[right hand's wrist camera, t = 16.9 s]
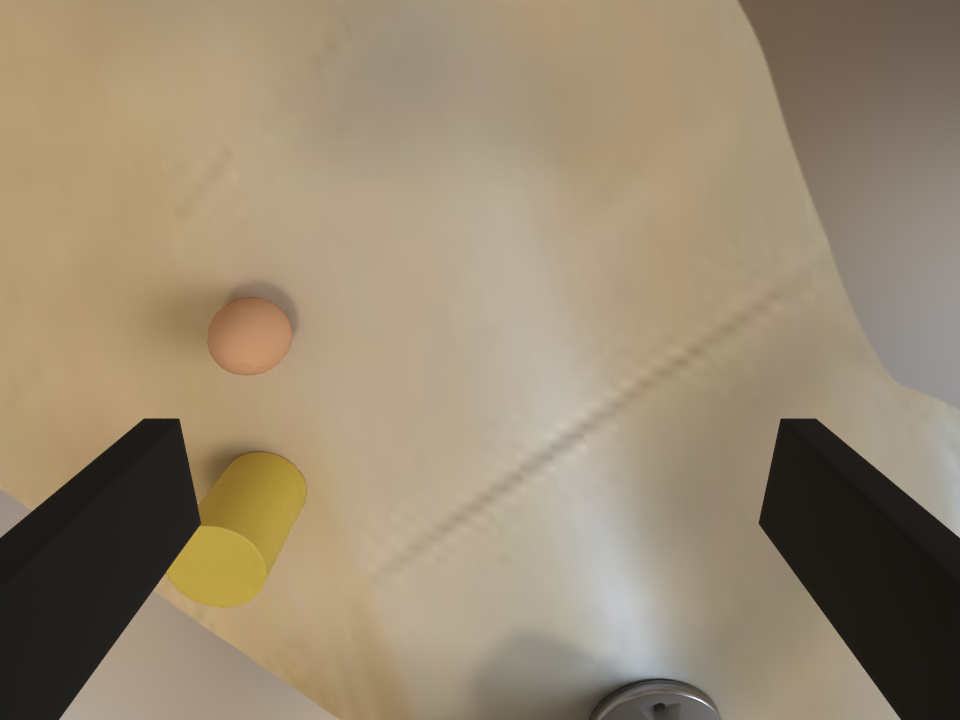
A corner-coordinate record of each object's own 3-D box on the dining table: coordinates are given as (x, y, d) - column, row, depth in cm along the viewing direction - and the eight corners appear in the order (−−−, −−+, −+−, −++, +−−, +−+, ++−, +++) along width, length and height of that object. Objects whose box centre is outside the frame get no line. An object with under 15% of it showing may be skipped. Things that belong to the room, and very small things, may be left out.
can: (314, 518, 56) (276, 603, 46) (235, 525, 57) (180, 611, 46) (296, 447, 54) (251, 521, 43) (214, 455, 54) (149, 530, 43)
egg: (276, 275, 48) (238, 300, 40) (316, 336, 49) (287, 370, 42) (217, 308, 49) (170, 337, 41) (259, 366, 50) (221, 404, 43)
